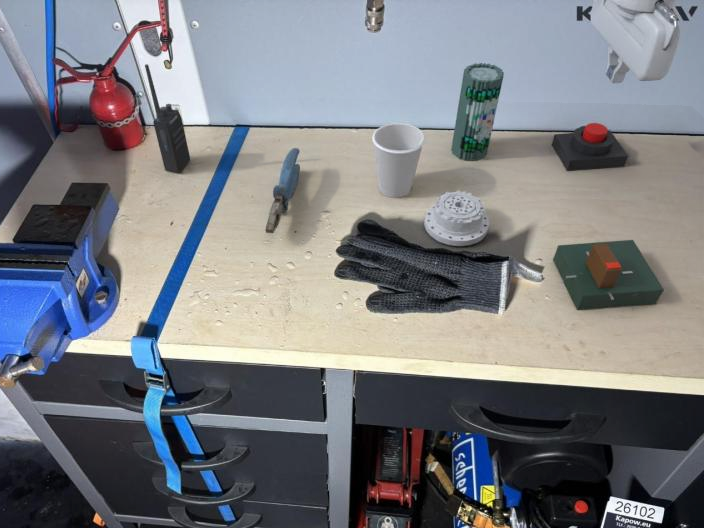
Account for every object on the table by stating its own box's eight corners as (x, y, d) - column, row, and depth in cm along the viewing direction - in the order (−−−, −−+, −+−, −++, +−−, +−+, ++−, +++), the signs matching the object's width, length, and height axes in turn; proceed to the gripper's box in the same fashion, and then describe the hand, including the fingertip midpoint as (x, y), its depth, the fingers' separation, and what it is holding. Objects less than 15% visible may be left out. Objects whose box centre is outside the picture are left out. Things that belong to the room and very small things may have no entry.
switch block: (606, 140, 109) (613, 121, 106) (624, 166, 104) (632, 147, 101) (551, 144, 109) (557, 125, 106) (566, 171, 104) (573, 151, 101)
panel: (625, 254, 90) (633, 238, 88) (659, 310, 83) (668, 294, 80) (545, 260, 90) (550, 244, 88) (571, 316, 83) (578, 301, 80)
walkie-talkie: (180, 175, 109) (154, 69, 94) (164, 171, 109) (136, 66, 95) (193, 160, 111) (170, 55, 97) (177, 156, 112) (152, 52, 97)
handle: (585, 262, 85) (593, 243, 82) (599, 261, 85) (608, 242, 82) (598, 288, 82) (607, 269, 79) (613, 287, 82) (623, 268, 79)
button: (599, 131, 105) (602, 122, 104) (607, 142, 103) (611, 133, 102) (579, 132, 105) (582, 123, 104) (586, 144, 103) (590, 135, 101)
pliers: (277, 247, 95) (273, 219, 90) (263, 246, 95) (260, 217, 90) (303, 171, 107) (301, 143, 103) (291, 170, 108) (289, 142, 103)
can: (467, 164, 107) (481, 85, 95) (445, 148, 110) (456, 70, 99) (493, 153, 108) (511, 74, 97) (471, 137, 112) (485, 59, 101)
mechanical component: (432, 201, 100) (416, 239, 94) (435, 179, 97) (419, 217, 91) (493, 213, 98) (481, 254, 92) (498, 191, 94) (486, 232, 88)
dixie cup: (426, 198, 101) (433, 147, 93) (378, 206, 100) (381, 155, 93) (410, 169, 106) (415, 119, 99) (364, 177, 106) (366, 126, 98)
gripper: (705, 17, 79) (662, 112, 89) (638, -40, 92) (608, 48, 103) (657, 20, 79) (620, 115, 89) (597, -38, 92) (571, 50, 103)
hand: (613, 78), depth 96 cm, fingers closed
